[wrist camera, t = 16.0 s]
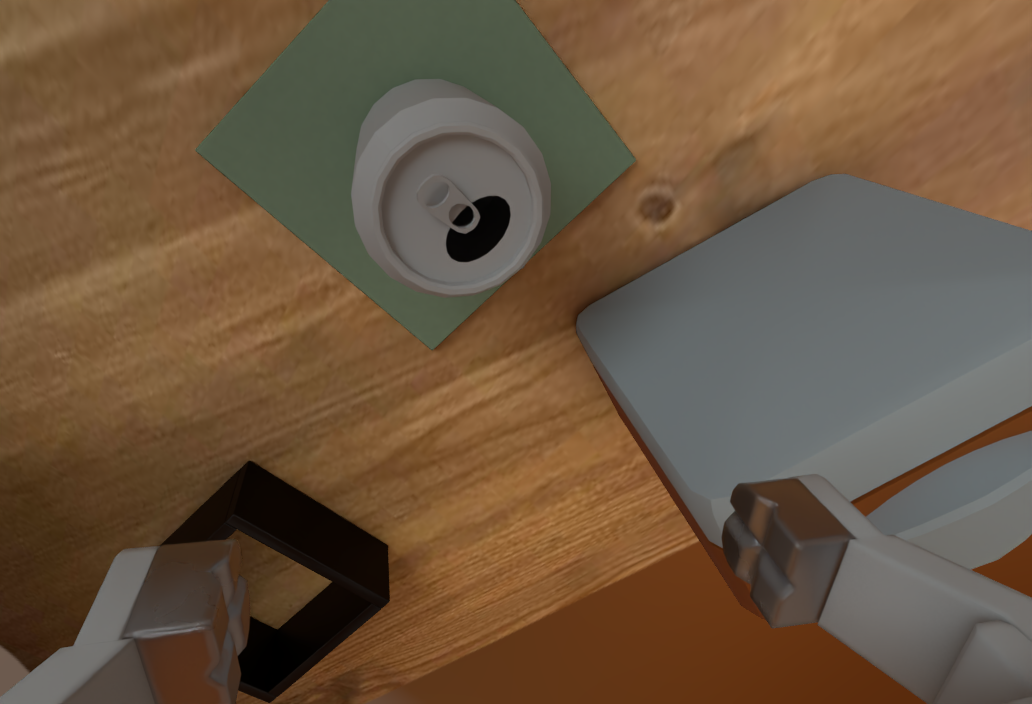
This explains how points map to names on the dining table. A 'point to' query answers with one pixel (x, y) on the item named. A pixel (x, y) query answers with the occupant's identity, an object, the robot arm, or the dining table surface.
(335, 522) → the frame
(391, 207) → the can
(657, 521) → the dining table surface
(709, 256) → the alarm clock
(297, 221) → the mat
